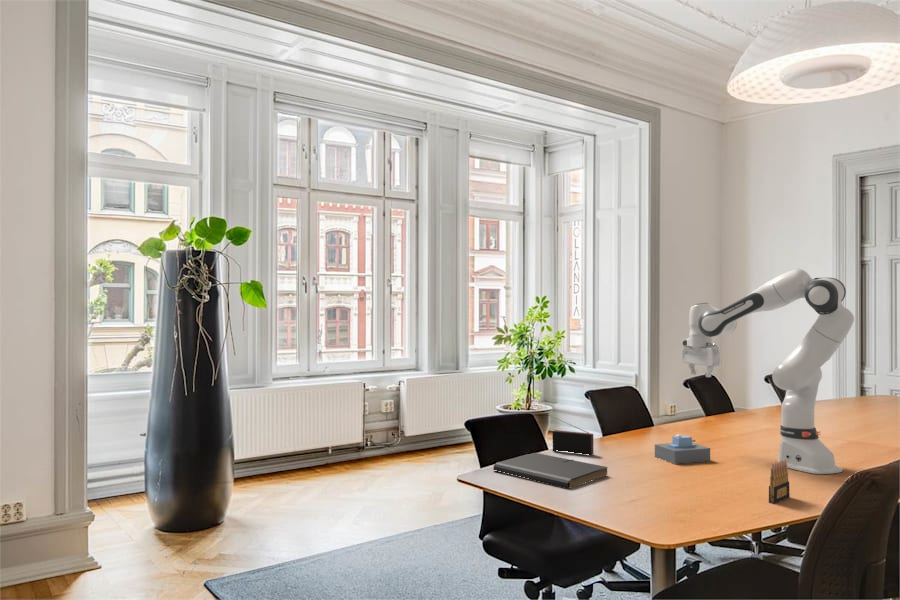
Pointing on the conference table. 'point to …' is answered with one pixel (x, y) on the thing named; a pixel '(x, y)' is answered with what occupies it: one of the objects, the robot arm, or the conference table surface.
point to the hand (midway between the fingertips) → (700, 375)
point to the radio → (573, 441)
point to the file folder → (551, 469)
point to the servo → (682, 442)
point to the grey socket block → (682, 453)
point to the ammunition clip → (779, 482)
